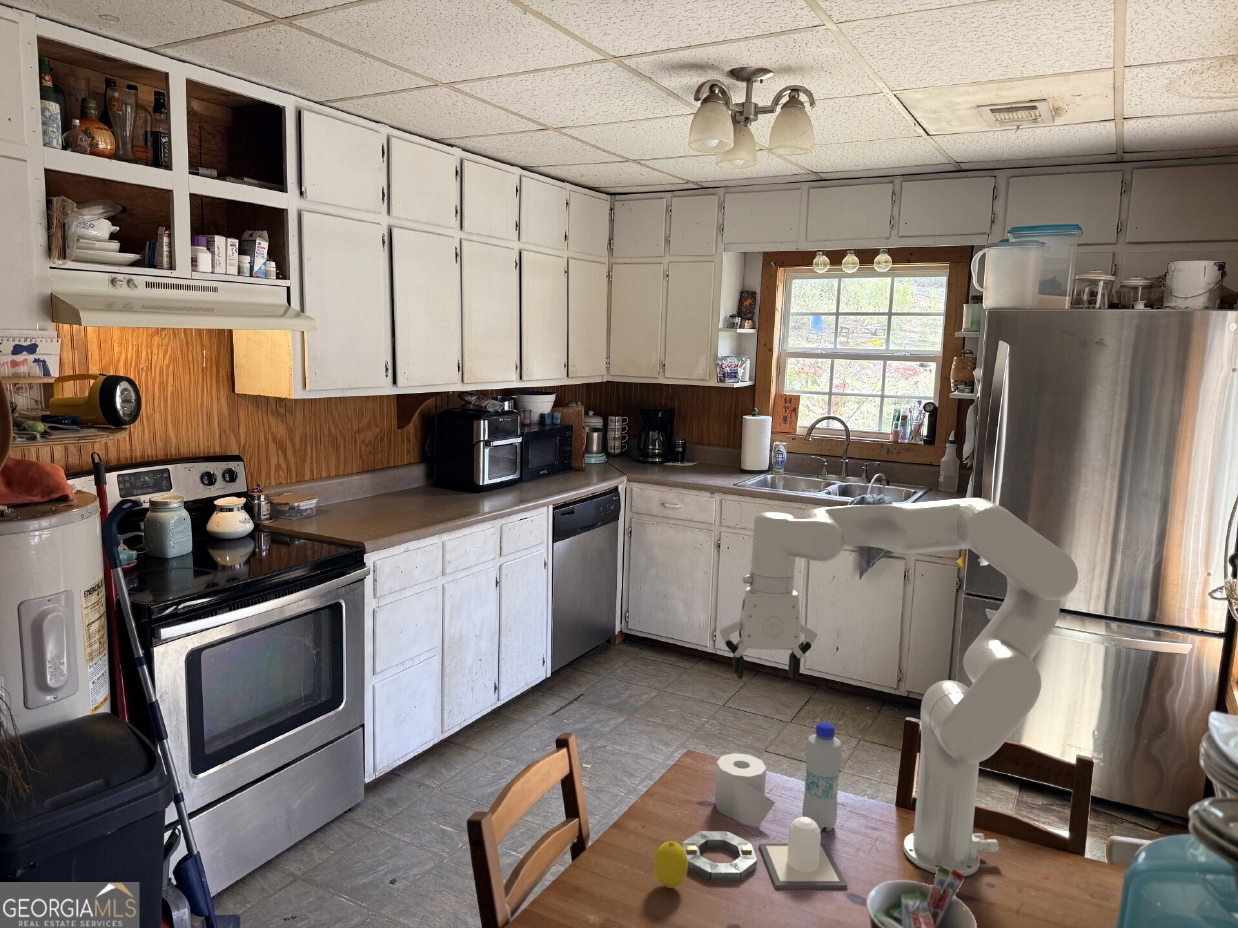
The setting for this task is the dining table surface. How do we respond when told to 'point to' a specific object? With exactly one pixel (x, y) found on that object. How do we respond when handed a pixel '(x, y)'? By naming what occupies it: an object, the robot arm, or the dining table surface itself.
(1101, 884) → the dining table surface
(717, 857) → the dining table surface
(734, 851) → the socket ring
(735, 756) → the toilet tissue
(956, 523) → the robot arm
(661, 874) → the lemon
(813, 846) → the capsule
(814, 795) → the bottle
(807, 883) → the mat
